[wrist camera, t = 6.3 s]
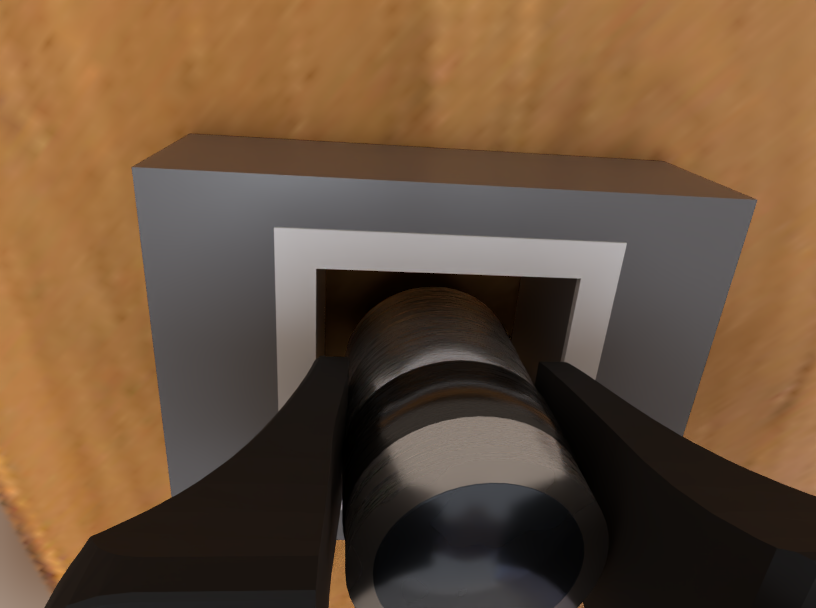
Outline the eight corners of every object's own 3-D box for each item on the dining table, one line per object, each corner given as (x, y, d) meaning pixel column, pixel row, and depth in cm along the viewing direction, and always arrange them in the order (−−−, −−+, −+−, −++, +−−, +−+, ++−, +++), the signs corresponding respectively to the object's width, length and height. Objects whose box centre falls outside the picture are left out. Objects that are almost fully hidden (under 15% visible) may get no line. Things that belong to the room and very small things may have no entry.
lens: (489, 438, 15) (568, 661, 10) (332, 424, 15) (325, 656, 9) (530, 296, 14) (652, 470, 8) (355, 273, 13) (364, 447, 8)
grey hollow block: (595, 442, 19) (651, 539, 15) (214, 438, 18) (176, 542, 14) (663, 161, 15) (759, 200, 12) (189, 133, 14) (130, 167, 11)
